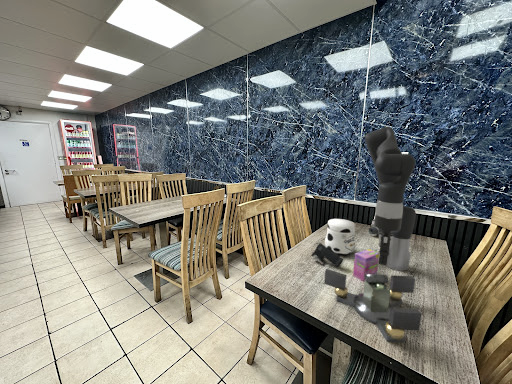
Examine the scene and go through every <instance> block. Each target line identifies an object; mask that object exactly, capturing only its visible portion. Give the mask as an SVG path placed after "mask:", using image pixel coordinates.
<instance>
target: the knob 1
mask: <svg viewBox="0 0 512 384" xmlns="http://www.w3.org/2000/svg"><path fill="white" fill-rule="evenodd" d="M415 283H416V278H415V277H413V276H412V275H411V276H410V275H392V274H391V275H390V280H389V286H387V287H388V288H389V289H390V297H391V298H393V299H396V300H399V299H402V294H403V293H408V294H409V293H411V294H414V289H415Z"/></svg>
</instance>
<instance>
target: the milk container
mask: <svg viewBox="0 0 512 384" xmlns="http://www.w3.org/2000/svg"><path fill="white" fill-rule="evenodd" d="M326 225H327V227H326V230H327V231H326V236H325V239H324V246H325V247H328V246H330V247H331V248H332V251H334V252H335V253H336V254H337V255H350V254H353V253H354V252H355V250H356V249H355V248H356V240H355V234H356V224H355V223H354V222H353V221H351V220H348V219H344V218H343V219H342V218H331V219H329V220H328V221H327V224H326Z"/></svg>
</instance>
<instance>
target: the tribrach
mask: <svg viewBox="0 0 512 384" xmlns="http://www.w3.org/2000/svg"><path fill="white" fill-rule="evenodd" d="M364 277H365V281H364V284H363V292H361V293H357V294H354V293H351V292H349V291H348V292H347V296H346V297H340V296H338V295H336V302H339V303H341V304H344V305H347V306H349V307H352V308H354V310H355V312H356V313H357V314H358V315H359V316H360V317H361V318H363V319H364V320H366V321H368V322H369V323H371V324H374V325H376V327H377V328H378V330H379V331H380V333H381V335H382V337H383V338H384V339H385V341H386V342H391V343H392V342H393V343H405V339H406V337H405V336H404V338H403V339H402V340H397V339H394V338H392V337H391V336H389V335H388V334H387V333H386V331H385V328H386V322H387V321H389V316H390V309H391V308H398V307H399V306H401V305H402V302H403V298H401V299H399V300H396V299H393V298H391V297H390V289H389V288H388V287H389V286H387V284H388V283H389V277H388V275H386V274H379V273H378V274H365V276H364Z"/></svg>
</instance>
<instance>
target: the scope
mask: <svg viewBox="0 0 512 384" xmlns="http://www.w3.org/2000/svg"><path fill="white" fill-rule="evenodd" d="M310 256H311V257H312V258H313V259H314V260H316V261H317V262H318V263H320V264H321V265H324V262H322V261H323V260H325V259H326V260H327V261H329V262H330V263H331V264H333V265H334V266H335V267H336V268H339V266H341V264H342V263H343V262H344V258H342V257H341V256H339V254H337V253H335V252H334V251H332V248H331V247H330V246H328V247H326V246H325V244H323V243H321V242H319V243H318V245H317V246H316V248H315V250H314V251H313V252H312V253H311V255H310Z"/></svg>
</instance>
